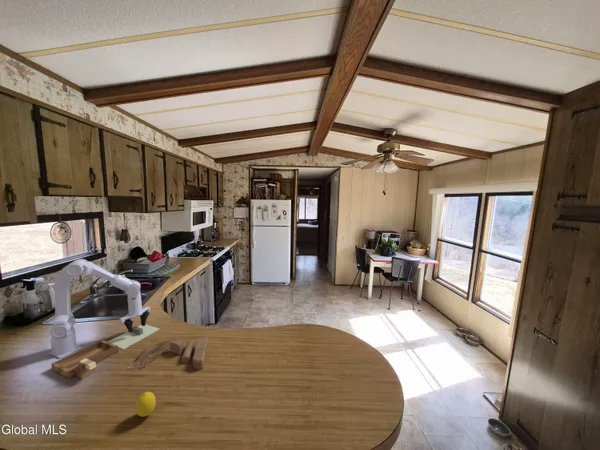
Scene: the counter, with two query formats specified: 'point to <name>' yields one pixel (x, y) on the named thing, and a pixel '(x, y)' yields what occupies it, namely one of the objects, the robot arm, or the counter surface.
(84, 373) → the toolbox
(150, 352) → the wooden fragment
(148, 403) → the lemon
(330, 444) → the counter surface
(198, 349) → the wooden block set
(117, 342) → the lid
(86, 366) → the key
